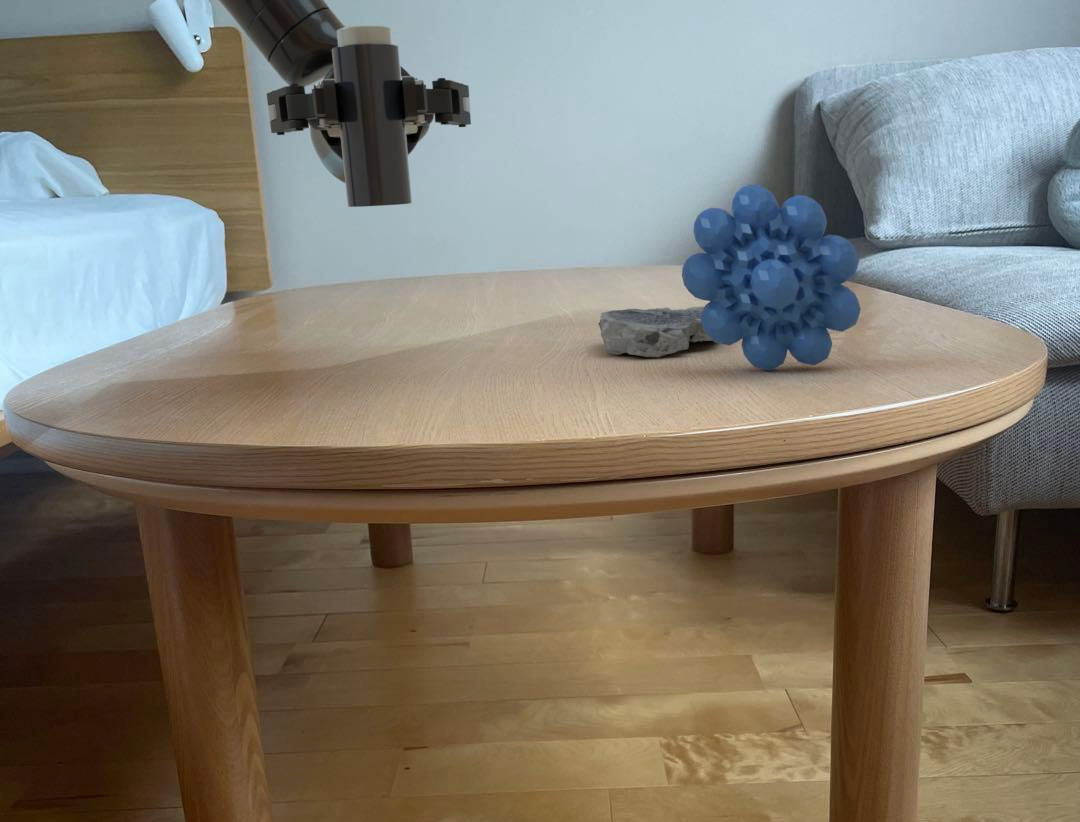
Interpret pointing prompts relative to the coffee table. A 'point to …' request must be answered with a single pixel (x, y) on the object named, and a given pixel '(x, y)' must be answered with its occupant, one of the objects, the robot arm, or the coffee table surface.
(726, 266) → the blue flower toy
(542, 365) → the coffee table surface
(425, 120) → the robot arm
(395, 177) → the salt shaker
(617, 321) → the fossil
